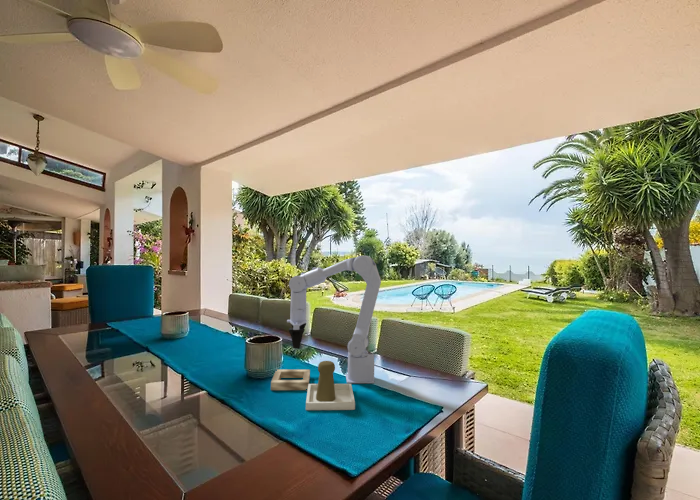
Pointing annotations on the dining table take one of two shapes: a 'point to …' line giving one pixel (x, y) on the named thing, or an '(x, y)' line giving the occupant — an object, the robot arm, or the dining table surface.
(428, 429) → the dining table surface
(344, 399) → the tray
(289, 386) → the frame
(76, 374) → the dining table surface
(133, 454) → the dining table surface
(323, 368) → the olive tall rounded piece
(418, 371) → the dining table surface
